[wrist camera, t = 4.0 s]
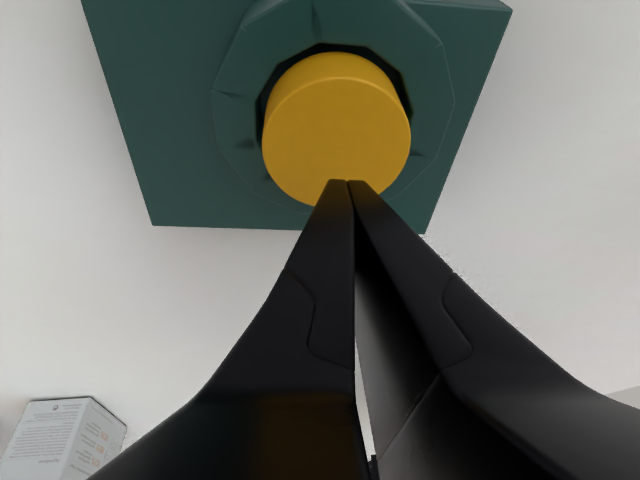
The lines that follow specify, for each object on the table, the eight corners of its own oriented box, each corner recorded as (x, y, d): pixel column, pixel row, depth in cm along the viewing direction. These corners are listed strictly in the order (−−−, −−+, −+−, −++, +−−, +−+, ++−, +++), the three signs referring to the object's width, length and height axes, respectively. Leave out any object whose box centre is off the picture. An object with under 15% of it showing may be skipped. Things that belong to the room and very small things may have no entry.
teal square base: (414, 204, 18) (435, 265, 16) (164, 194, 17) (139, 257, 15) (493, -27, 12) (554, 7, 9) (95, -65, 11) (24, -41, 8)
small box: (27, 399, 32) (-52, 557, 25) (92, 395, 32) (31, 552, 25) (74, 430, 38) (21, 566, 31) (129, 427, 38) (88, 562, 31)
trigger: (383, 178, 13) (392, 211, 12) (266, 172, 12) (263, 206, 11) (414, 55, 10) (430, 83, 9) (264, 44, 10) (259, 71, 8)
